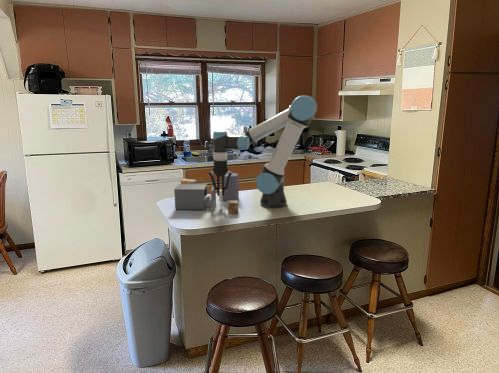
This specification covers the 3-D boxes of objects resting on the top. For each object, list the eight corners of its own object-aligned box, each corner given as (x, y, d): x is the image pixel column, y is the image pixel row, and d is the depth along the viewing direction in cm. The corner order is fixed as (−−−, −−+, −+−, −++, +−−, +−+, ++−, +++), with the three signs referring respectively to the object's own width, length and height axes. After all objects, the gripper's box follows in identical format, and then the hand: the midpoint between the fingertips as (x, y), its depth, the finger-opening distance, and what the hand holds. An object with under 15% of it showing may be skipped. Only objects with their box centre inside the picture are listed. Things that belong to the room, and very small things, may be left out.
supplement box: (181, 201, 224) (180, 180, 221) (185, 199, 228) (184, 178, 225) (193, 202, 221) (192, 181, 218) (197, 200, 225) (196, 179, 222)
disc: (210, 197, 214) (210, 194, 214) (209, 201, 206) (208, 198, 206) (197, 197, 214) (196, 194, 214) (194, 201, 207) (194, 198, 206)
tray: (216, 204, 217) (215, 185, 215) (213, 210, 205) (212, 190, 203) (189, 203, 218) (188, 185, 215) (185, 210, 206) (184, 190, 203)
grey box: (207, 204, 217) (206, 184, 215) (204, 210, 206) (203, 189, 203) (180, 204, 218) (179, 184, 215) (175, 210, 206) (174, 189, 203)
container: (220, 197, 233) (219, 173, 229) (236, 195, 236) (235, 172, 232) (224, 201, 223) (223, 176, 220) (240, 200, 226) (240, 175, 223)
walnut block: (238, 211, 205) (238, 200, 203) (237, 213, 200) (237, 203, 198) (229, 211, 205) (228, 200, 203) (228, 213, 200) (228, 203, 198)
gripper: (232, 158, 208) (233, 199, 214) (209, 158, 209) (210, 199, 214) (231, 160, 201) (232, 203, 207) (207, 160, 202) (208, 203, 207)
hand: (220, 201), depth 210 cm, fingers closed
